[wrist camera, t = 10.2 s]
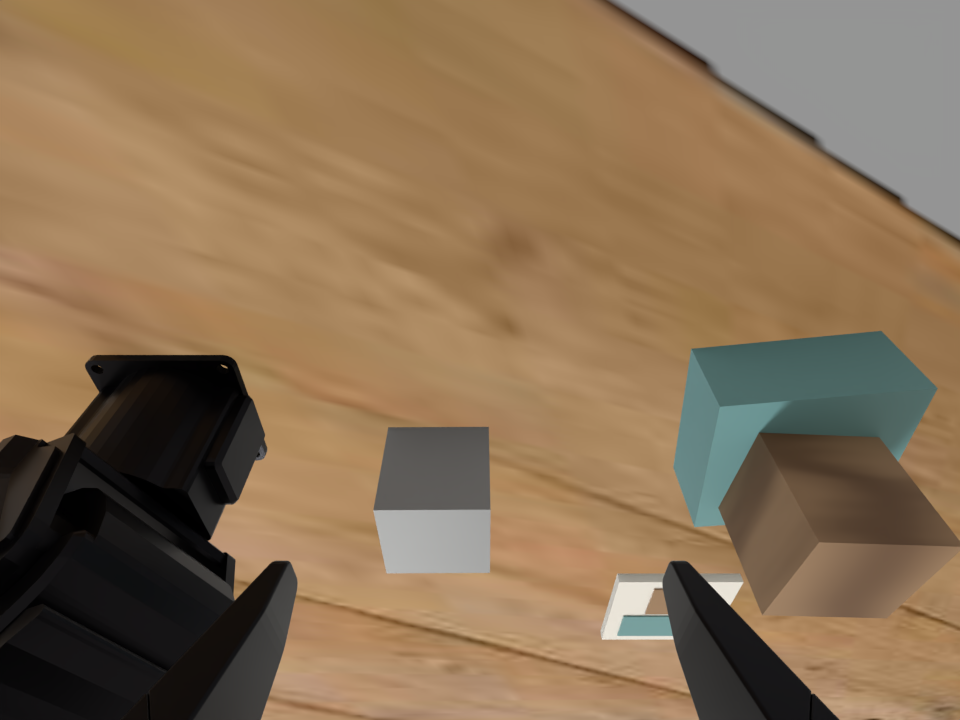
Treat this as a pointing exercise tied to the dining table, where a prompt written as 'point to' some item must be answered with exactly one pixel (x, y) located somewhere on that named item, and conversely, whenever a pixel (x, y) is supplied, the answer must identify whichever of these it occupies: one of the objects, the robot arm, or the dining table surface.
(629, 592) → the tile
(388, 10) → the dining table surface
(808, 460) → the walnut block
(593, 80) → the dining table surface
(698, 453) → the teal base block
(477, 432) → the slate grey block
